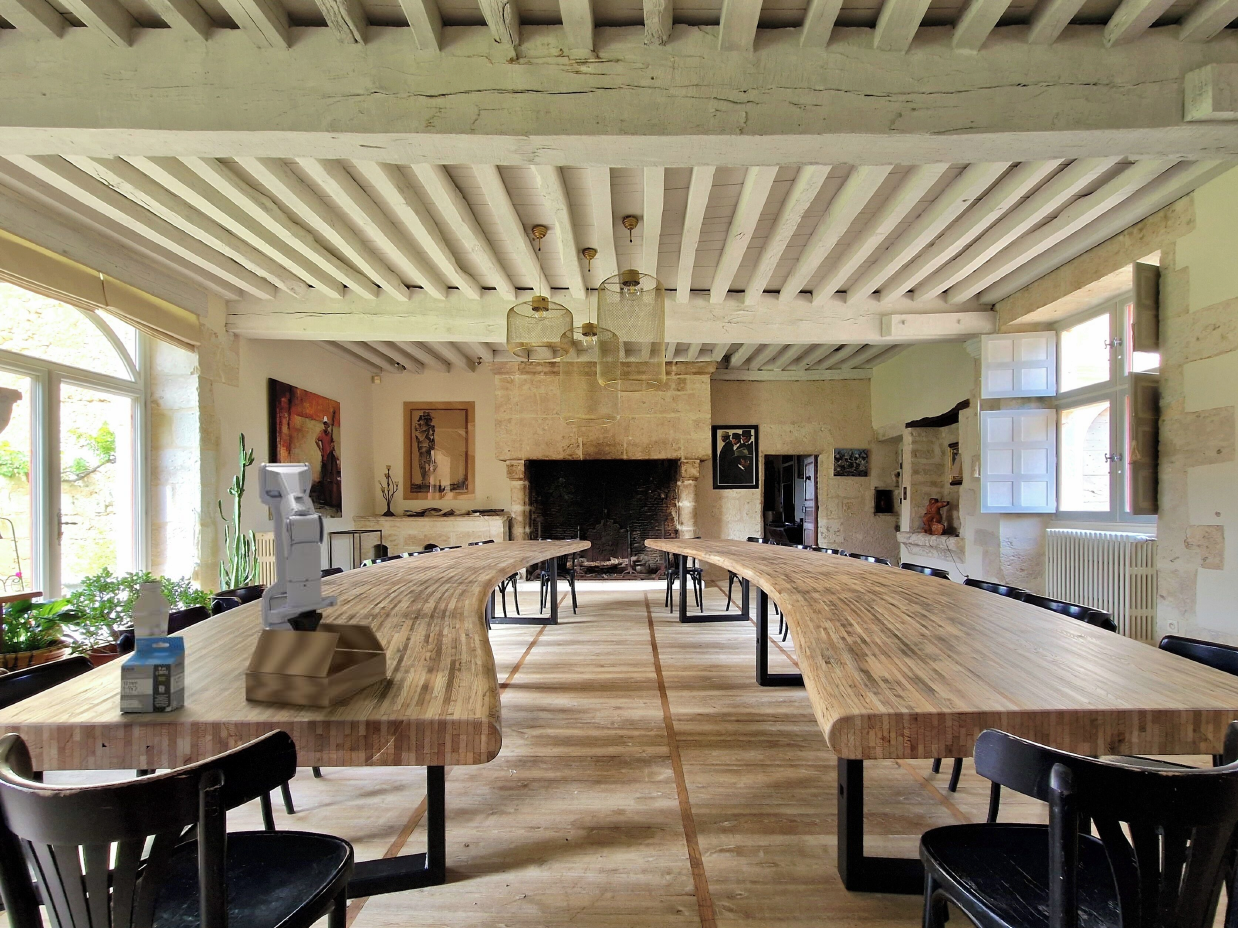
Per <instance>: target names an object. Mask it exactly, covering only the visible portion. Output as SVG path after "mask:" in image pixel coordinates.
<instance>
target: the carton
mask: <svg viewBox="0 0 1238 928" xmlns="http://www.w3.org/2000/svg"><path fill="white" fill-rule="evenodd" d="M387 665H388V664H387V652H385V651H384V652H380V651H365V650H349V649H335V651H334V654H333V657H332V660H331V663H330V665H329V668H328V671H327V674H326V677H315V676H302V675H289V674H277V673H264V672H252V671H246V672H245V678H244V679H245V680H244V682H245V701H250V702H251V701H253V702H260V703H261V702H263V703H270V704H271V703H274V704H282V705H292V706H305V707H313V708H315V707H316V708H323V709H324V708H326V709H328V708H330V707H333V705H336V704H337V703H340V702H342V701H343V700H346V699H348V698H350V697H352V696H353V695H355V694H358V693H359V692H361V691H364V690H365V689H367V688H369V687H372V686H373V685H375V684H377V683H379V682H381V681H384V680H385V679H387V678H388V676H387V675H388V674H387V673H388V672H387V670H388V669H387Z"/></svg>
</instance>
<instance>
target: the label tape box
mask: <svg viewBox="0 0 1238 928" xmlns="http://www.w3.org/2000/svg"><path fill="white" fill-rule="evenodd" d="M159 642H162V643H163V644H164V643H167V644H168V646H167V647H153V646H152V645H153V644H158V643H159ZM136 650H137V651H136V652H135V653H134V652H133V654H132V655H131V656H130V657H129V658H128V659H127V660H126V661H124V662H123V663H122V664H121V666H120V695H119V696H120V700H119V701H120V702H119V705H120V706H119V713H120V712H141V713H154V712H153V711H163V712H172V711H175V710H176V708H177V709H179V708H180V707H179V706H181V707H182V706H184V705H185V696H186V695H185V692H186V691H185V690H186V689H185V688H186V687H185V685H186V684H185V681H186V679H185V678H186V677H185V676H186V675H185V671H186V670H185V669H186V668H185V667H186V666H185V660H186V657H185V656H186V651H185V650H186V649H185V641H184V636H179V635H178V636H167V637H152V638H136ZM178 707H179V708H178ZM174 709H175V710H174ZM171 710H172V711H171Z"/></svg>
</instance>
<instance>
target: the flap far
mask: <svg viewBox="0 0 1238 928" xmlns="http://www.w3.org/2000/svg"><path fill="white" fill-rule="evenodd" d="M316 632H327V633H340V636H339V639H338V642H337V645H336V648H335V649H338V650H354V651H370V652H385V651H386V648H384V645H382V643H381V641H380V640H379V638H378V636H377V634H376V632H375V631H374V629H373V628H372V626H371V624H369V623H367V624H366V623H351V622H350V623H349V622H331V621H330V622H329V621H328V622H327V621H320V623H319V625H318V627H317V629H316Z"/></svg>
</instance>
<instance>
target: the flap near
mask: <svg viewBox="0 0 1238 928" xmlns="http://www.w3.org/2000/svg"><path fill="white" fill-rule="evenodd" d="M261 632H262V633H261ZM261 632H260V633H261V635H260V634H259V635H260V638H259V640H258V639H257V642H256V645H255V649H254V651H253V653H252V656H251V657H250V658H251V659H250V661H249V663H248V665H247V668H246V672H248V671H252V672H264V673H277V674H289V675H302V676H315V677H326V674H327V671H328V668H329V665H330V663H331V660H332V657H333V654H334V651H335V648H336V645H337V642H338V639H339V636H340V633H327V632H308V631H290V630H271V629H265V628H263V629H262V631H261Z"/></svg>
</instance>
